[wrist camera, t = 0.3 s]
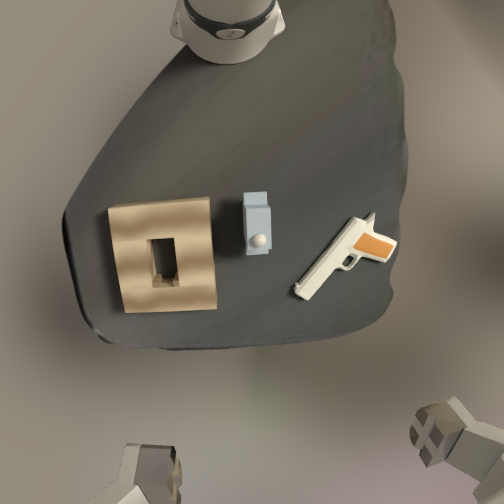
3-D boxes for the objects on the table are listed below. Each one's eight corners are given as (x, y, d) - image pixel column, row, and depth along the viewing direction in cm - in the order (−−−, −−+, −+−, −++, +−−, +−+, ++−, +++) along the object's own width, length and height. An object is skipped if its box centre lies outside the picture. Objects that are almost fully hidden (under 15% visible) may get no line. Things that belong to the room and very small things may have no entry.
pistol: (332, 317, 61) (289, 287, 58) (398, 238, 57) (360, 201, 54) (336, 323, 58) (292, 292, 55) (404, 242, 55) (366, 203, 52)
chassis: (115, 204, 50) (107, 208, 46) (209, 196, 51) (208, 200, 47) (130, 302, 55) (125, 312, 51) (217, 298, 56) (216, 308, 53)
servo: (241, 189, 51) (245, 196, 43) (262, 188, 51) (270, 195, 43) (244, 246, 54) (248, 264, 46) (264, 245, 54) (272, 262, 46)
